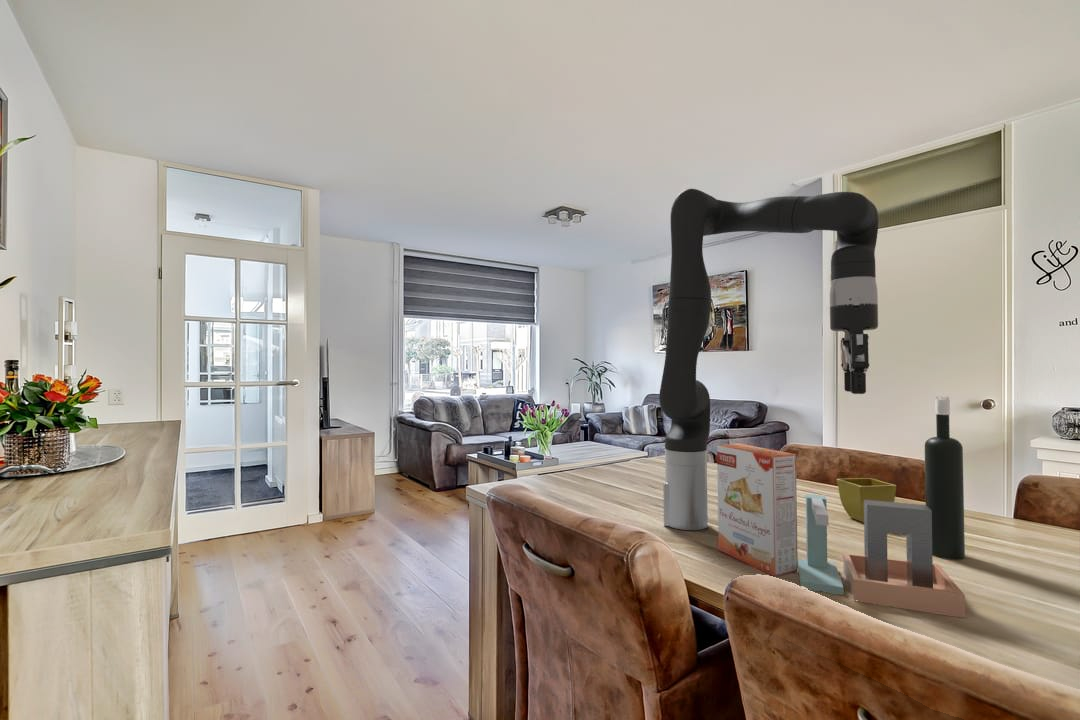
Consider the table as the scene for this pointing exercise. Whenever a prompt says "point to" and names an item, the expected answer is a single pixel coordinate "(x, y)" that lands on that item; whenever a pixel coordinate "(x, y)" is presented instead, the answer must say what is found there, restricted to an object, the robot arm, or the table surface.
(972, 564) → the table surface
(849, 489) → the flower pot
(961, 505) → the wine bottle
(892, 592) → the tray
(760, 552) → the cracker box
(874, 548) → the grey arch block
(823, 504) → the peg stand
